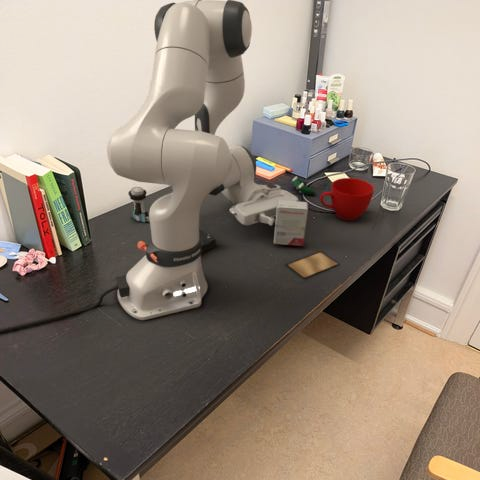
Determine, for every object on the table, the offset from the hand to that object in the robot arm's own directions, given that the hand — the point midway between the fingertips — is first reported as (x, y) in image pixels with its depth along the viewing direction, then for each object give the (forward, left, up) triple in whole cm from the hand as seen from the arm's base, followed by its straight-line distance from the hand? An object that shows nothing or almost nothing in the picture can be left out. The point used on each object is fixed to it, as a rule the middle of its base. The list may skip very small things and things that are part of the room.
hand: (283, 219), depth 126 cm
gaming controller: (+28, +23, -8) cm, 37 cm away
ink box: (+1, -2, -7) cm, 7 cm away
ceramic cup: (+27, +2, -8) cm, 28 cm away
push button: (-29, +33, -8) cm, 45 cm away
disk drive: (-24, +14, -8) cm, 29 cm away
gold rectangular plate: (0, -14, -7) cm, 16 cm away
